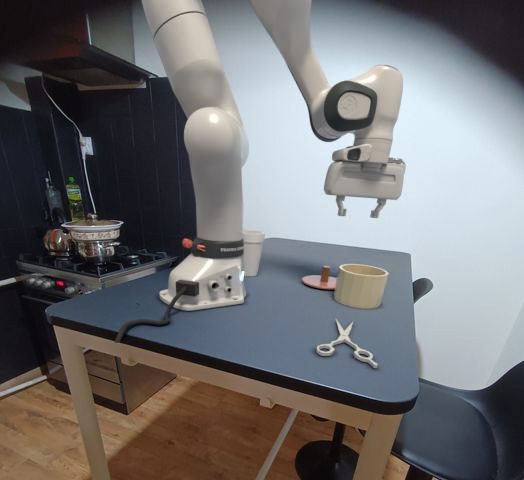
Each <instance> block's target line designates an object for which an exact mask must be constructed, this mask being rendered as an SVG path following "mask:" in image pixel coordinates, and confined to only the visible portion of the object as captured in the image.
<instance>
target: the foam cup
mask: <svg viewBox="0 0 524 480" xmlns="http://www.w3.org/2000/svg"><path fill="white" fill-rule="evenodd" d="M265 235H266V233H265V232H264V231H261V230H255V229H243V233H242V239H243V240H244V254H243V256H242V270H243V271H244V277H254V276H257V275H258V273H259V266H260V262H261V256H262V252H263V247H264V242H265V237H266V236H265Z"/></svg>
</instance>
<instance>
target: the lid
mask: <svg viewBox="0 0 524 480" xmlns="http://www.w3.org/2000/svg"><path fill="white" fill-rule="evenodd" d="M330 272H331V266H329V265H322V267H321V273H320V275H319V274H311V275H306V276H303V277H302V279H301V281H302V283H303V284H305V285H306V286H310V287H312V288H317V289H321V290H335V286H336V280H337V277H334V276H330V274H331V273H330Z"/></svg>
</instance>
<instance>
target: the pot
mask: <svg viewBox="0 0 524 480" xmlns="http://www.w3.org/2000/svg"><path fill="white" fill-rule="evenodd" d="M389 275H390V273H389V272H388V271H387V270H386V269H383V268H381V267H378V266H377V267H376V266H373V265H367V264H359V263H344V264H341V265H339V266H338V270H337V275H336V278H337V280H336V286H335V289H334V291H333V299H334V301H336V302H337V303H339V304H341V305H344V306H346V307H350V308H354V309H363V310H364V309H365V310H371V309H378V308H379V307H381V305H382V301H383V297H384V293H385V290H386V286H387V282H388V279H389Z"/></svg>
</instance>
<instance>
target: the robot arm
mask: <svg viewBox="0 0 524 480" xmlns="http://www.w3.org/2000/svg"><path fill="white" fill-rule="evenodd" d="M247 1H248V4H249V5H250V7H251V8H252V10H253V12H254V14H255V15H256V17H257V18H258V21H259V22H260V23H261V25H262V27H263V28H264V30H265V32H266V33H267V34H268V36H269V38H270V39H271V41H272V42H273V44H274V45H275V47H276V49H277V50H278V52H279V53H280V56H281V57H282V58H283V60H284V62H285V65H286V66H287V69H288V70H289V72H290V74H291V76H292V78H293V81H294V82H295V84H296V86H297V88H298V90H299V92H300V94H301V96H302V98H303V100H304V102H305V104H306V107H307V108H306V109H307V112H308V118H309V125H310V128H311V131H312V133H313V134H314V135H313V136H315V137H316V138H317V139H318V140H319V141H320V142H321V141H322V142H324V143H333V142H336V141H338V140H340V138H342V137H343V136H345V135H347V134H352V135H353V137H354V139H353V143H352V145H349V146H346V147H345V148H342V149H341V148H340V149H337V150H334V151H333V152H332V154H331V160H332V161H333V162H330V164H329V166H328V167H327V171H326V174H325V179H324V185H323V192H324V193H325V195H327V196H335V203H336V206H337V208H338V210H337V216H338V217H346V215H347V208H345V207H344V203H343V202H345V199H346V197H348V198H349V197H350V198H352V197H353V198H363V199H377V200H376V204H377V205H376V207H375V208H374V209H372V210H370V215H369V217H370V218H372V219H379V216H380V212H381V211H382V210H383V209H384V207H385V206H386V203H387V200H390V201H391V200H392V201H398V199H399V198H400V197H401V196H402V192H403V186H404V181H405V180H404V179H405V172H406V169H407V164H406V162H405V161H404V160H403V159H402V158H394V157H390V154H391V151H392V145H393V142H394V129H395V125H396V124H397V121H398V119H399V114H400V110H401V105H402V98H403V92H404V91H403V90H404V78H403V74H402V73H401V71H400V70H399V69H398V68H396V67H394V66H391V65H388V64H376V65H373V66H372V67H370V69H368V70H367V71H365V72H363V73H361V74H360V75H358V76H355V77H353V78H349V79H346V80H342V81H339V82H337V83H335V84H334V85H333V86H332V85H331V84H330V83H329V81H328V79H327V76H326V75H325V72H324V70H323V67H322V66H321V63H320V61H319V59H318V57H317V55H316V52H315V50H314V46H313V43H312V42H313V41H312V36H311V12H312V0H247ZM140 2H141V5H142V9H143V12H144V15H145V19H146V23H147V25H148V28H149V31H150V34H151V38H152V39H153V42H154V45H155V48H156V50H157V53H158V55H159V59H160V60H161V63H162V66H163V69H164V71H165V74H166V77H167V79H168V82H169V85H170V87H171V90H172V93H173V94H174V96H175V97H176V99H177V101H178V103H179V105H180V106H181V108H182V111H183V112H184V114H185V115H184V116H186V118H187V120H186V123H185V126H184V131H183V141H184V146H185V148H186V151H187V156H188V161H189V168H190V175H191V176H190V177H191V181H192V186H193V193H194V198H195V200H194V201H195V213H196V215H195V216H196V217H195V219H196V236H195V238H194V240H193V241H192V239H189V238H184V239H183V240H182V241H181V243H182V246H183V247H184V248H187V249H190V253H189V255H187V256H186V257H185V258H184V259H183V260H182V261H181V262H180V263H178V265H176V267H174V268H173V269H172V270H171V271H170V273H169V276H168V283H167V289H163V290H160V291H159V294H158V297H159V299H160V300H161V301H162V302H163V303H164V304H166V305H168V306H167V308H166V310H165V313H164V315H163V320H153V319H147V318H140V319H134V320H130V321H127V322H125V323H124V324H123V325H121V327H120V329H119V331H118V333H117V335H116V337H115V340H114V343H115V344H119V343H120V342H122V339H123V338H124V335H125V332H126V331H127V329H128V328H130V327H134V326H137V325H150V326H165V325H168V324H169V323H170V322H171V319H170V317H169V316H170V314H171V312H172V310H173V308H174V309H178V310H181V311H187V312H190V311H198V310H205V309H213V308H220V307H227V306H234V305H242V304H245V298H246V296H247V291H246V286H245V281H244V277H245V276H244V271H243V270H242V256H243V254H244V240H243V239H242V233H243V230H244V206H245V205H244V196H243V176H242V175H243V174H242V171H243V170H242V168H243V167H244V166H245V165H246V163H247V161H248V158H249V154H250V143H249V137H248V135H247V132H246V128H245V126H244V122H243V120H242V117H241V114H240V111H239V108H238V106H237V103H236V100H235V97H234V93H233V92H232V89H231V86H230V83H229V80H228V77H227V74H226V73H225V70H224V69H225V68H224V66H223V63H222V60H221V57H220V55H219V51H218V48H217V44H216V41H215V37H214V34H213V32H212V29H211V26H210V22H209V19H208V16H207V13H206V10H205V6H204V4H203V1H202V0H141V1H140Z"/></svg>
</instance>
